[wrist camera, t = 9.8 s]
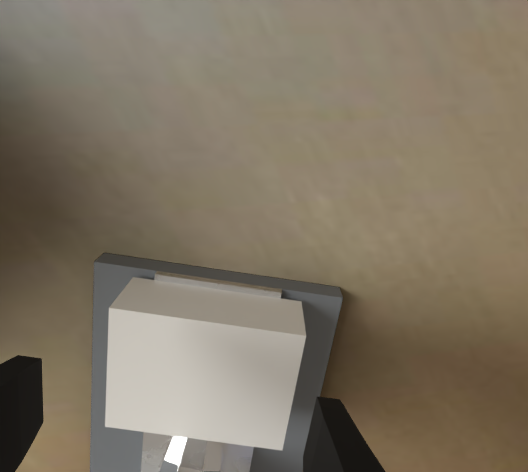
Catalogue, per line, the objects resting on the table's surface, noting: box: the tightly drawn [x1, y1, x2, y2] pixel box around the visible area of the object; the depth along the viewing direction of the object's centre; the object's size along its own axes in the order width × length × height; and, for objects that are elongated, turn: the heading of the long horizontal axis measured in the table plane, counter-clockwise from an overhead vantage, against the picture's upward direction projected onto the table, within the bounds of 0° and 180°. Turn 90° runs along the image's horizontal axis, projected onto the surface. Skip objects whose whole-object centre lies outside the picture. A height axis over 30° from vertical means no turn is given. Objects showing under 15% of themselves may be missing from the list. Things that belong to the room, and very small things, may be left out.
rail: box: [141, 271, 282, 472], centre depth 23 cm, size 20×6×1 cm, turn 172°
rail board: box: [90, 253, 343, 472], centre depth 23 cm, size 20×12×1 cm, turn 172°
